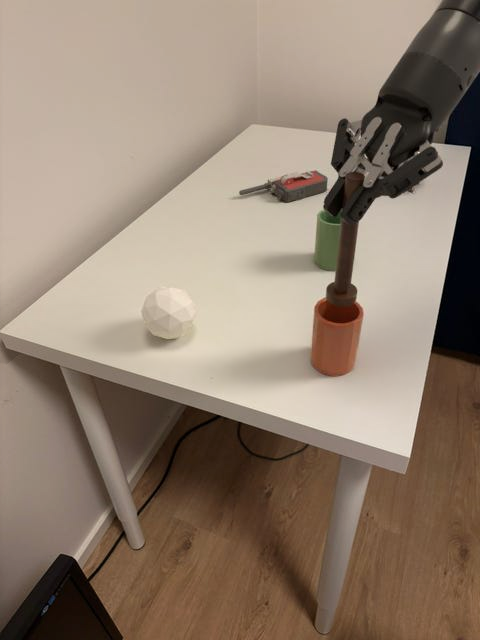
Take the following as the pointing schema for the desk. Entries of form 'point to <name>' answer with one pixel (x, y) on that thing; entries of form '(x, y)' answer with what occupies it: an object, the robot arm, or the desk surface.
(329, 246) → the green cup
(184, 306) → the geometric ball
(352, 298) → the muddler
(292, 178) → the walkie-talkie
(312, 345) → the terracotta cup
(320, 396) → the desk surface
